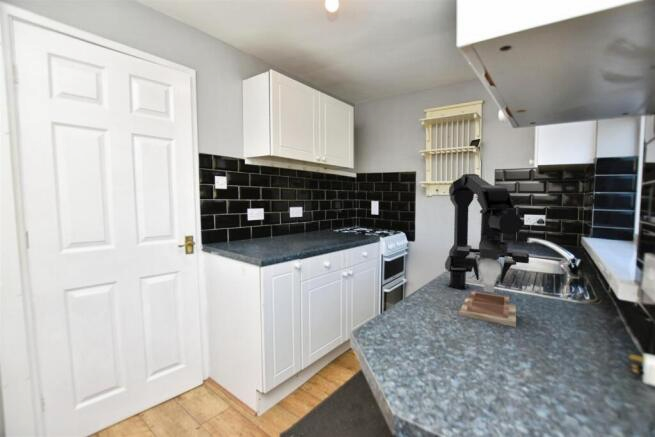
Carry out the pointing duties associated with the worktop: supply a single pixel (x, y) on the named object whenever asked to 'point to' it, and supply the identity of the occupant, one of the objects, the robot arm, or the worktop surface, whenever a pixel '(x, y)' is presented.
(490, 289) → the lightbulb
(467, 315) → the holder
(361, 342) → the worktop surface
